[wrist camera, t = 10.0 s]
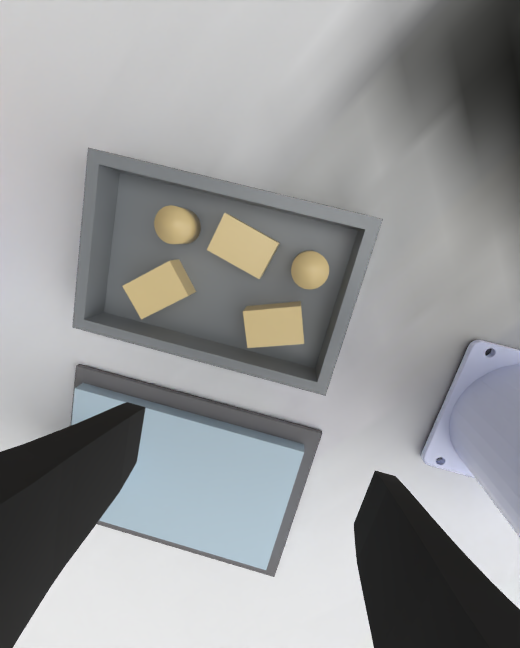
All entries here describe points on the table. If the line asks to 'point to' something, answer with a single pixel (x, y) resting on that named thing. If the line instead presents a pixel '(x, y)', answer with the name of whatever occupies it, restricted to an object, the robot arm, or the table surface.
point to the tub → (218, 270)
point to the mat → (223, 414)
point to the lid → (200, 480)
